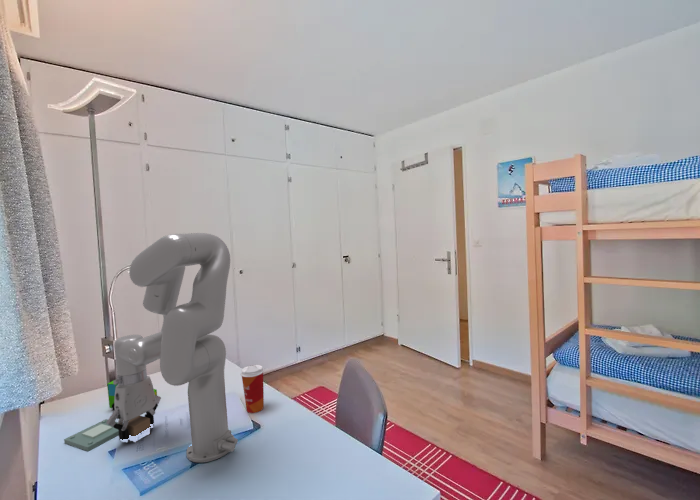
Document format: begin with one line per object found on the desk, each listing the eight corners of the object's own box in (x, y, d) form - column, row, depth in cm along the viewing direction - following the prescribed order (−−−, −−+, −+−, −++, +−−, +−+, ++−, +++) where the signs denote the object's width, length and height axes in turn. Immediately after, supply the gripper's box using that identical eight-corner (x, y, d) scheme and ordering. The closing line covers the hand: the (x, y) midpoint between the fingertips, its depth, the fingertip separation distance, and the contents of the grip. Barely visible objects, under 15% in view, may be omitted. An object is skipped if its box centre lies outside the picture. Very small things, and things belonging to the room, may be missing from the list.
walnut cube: (151, 434, 107) (149, 418, 107) (135, 443, 102) (133, 426, 102) (140, 431, 109) (139, 415, 109) (124, 440, 104) (123, 423, 104)
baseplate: (129, 428, 110) (129, 423, 110) (88, 451, 99) (87, 445, 99) (106, 422, 115) (105, 417, 115) (64, 443, 104) (63, 437, 104)
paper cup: (243, 406, 121) (240, 366, 120) (265, 401, 123) (262, 362, 122) (243, 417, 113) (240, 374, 113) (267, 411, 116) (264, 370, 115)
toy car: (139, 414, 120) (136, 386, 119) (107, 412, 122) (104, 384, 122) (161, 400, 130) (158, 373, 129) (130, 398, 132) (128, 373, 132)
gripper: (110, 391, 95) (116, 454, 96) (166, 367, 111) (171, 421, 112) (93, 387, 98) (99, 448, 99) (151, 365, 114) (155, 418, 115)
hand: (137, 434), depth 105 cm, fingers open, 7 cm apart
